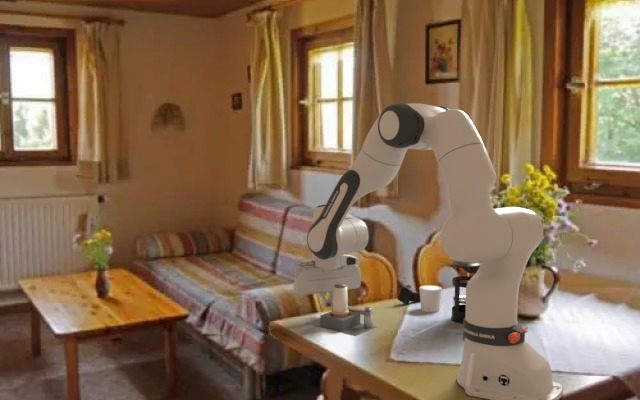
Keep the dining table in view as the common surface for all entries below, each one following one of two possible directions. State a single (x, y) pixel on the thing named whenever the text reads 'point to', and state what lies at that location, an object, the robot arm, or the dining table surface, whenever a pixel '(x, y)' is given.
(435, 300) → the white cup
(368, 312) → the ball-tipped lever
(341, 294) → the plug
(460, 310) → the french press
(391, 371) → the dining table surface
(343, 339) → the dining table surface
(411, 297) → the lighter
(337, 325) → the socket block
